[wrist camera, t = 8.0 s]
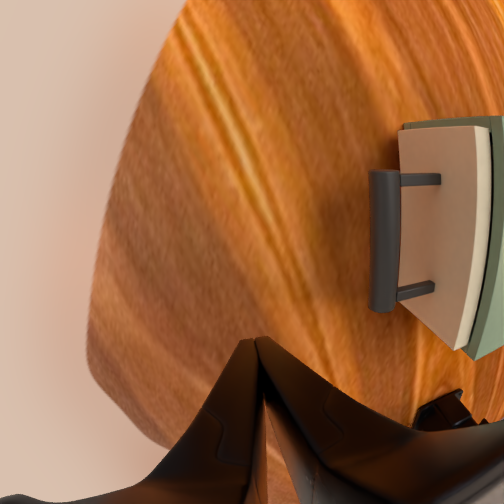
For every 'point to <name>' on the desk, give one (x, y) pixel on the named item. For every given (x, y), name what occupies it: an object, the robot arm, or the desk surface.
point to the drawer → (433, 228)
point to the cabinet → (500, 254)
